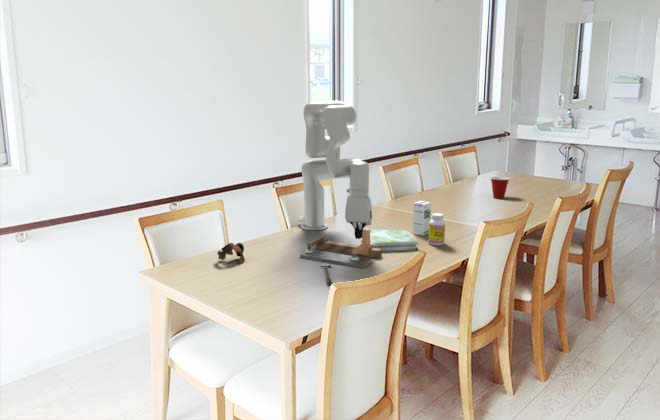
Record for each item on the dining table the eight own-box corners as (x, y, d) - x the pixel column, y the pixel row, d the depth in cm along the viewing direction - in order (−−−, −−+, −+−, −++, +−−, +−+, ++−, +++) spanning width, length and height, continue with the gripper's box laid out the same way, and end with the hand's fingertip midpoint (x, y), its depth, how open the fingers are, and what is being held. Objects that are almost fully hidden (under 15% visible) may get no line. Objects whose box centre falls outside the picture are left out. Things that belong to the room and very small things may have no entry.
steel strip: (299, 257, 229) (299, 252, 228) (309, 252, 236) (309, 246, 235) (364, 268, 216) (364, 262, 216) (372, 262, 223) (373, 256, 223)
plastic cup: (510, 197, 335) (512, 176, 332) (505, 200, 326) (506, 179, 323) (492, 195, 341) (493, 175, 338) (486, 198, 332) (487, 177, 329)
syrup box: (423, 235, 258) (424, 204, 255) (412, 233, 262) (413, 202, 259) (430, 233, 262) (431, 202, 259) (419, 230, 266) (420, 200, 263)
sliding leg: (348, 260, 223) (348, 236, 220) (364, 250, 235) (364, 227, 233) (358, 262, 221) (358, 238, 218) (373, 251, 233) (373, 229, 231)
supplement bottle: (432, 246, 243) (433, 216, 240) (425, 242, 249) (426, 213, 246) (447, 245, 245) (448, 215, 241) (440, 240, 251) (441, 212, 248)
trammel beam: (304, 255, 232) (303, 243, 231) (320, 246, 244) (320, 234, 242) (367, 265, 219) (368, 253, 218) (382, 255, 231) (382, 243, 230)
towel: (419, 250, 239) (419, 238, 237) (368, 253, 236) (369, 241, 234) (406, 238, 256) (407, 227, 255) (359, 240, 253) (359, 229, 252)
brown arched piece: (239, 267, 219) (227, 250, 217) (222, 274, 224) (210, 257, 222) (254, 251, 229) (243, 234, 227) (237, 258, 234) (226, 241, 232)
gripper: (337, 193, 228) (337, 237, 232) (372, 196, 221) (372, 242, 225) (346, 189, 234) (346, 233, 238) (380, 193, 227) (379, 238, 232)
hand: (358, 237), depth 232 cm, fingers closed
